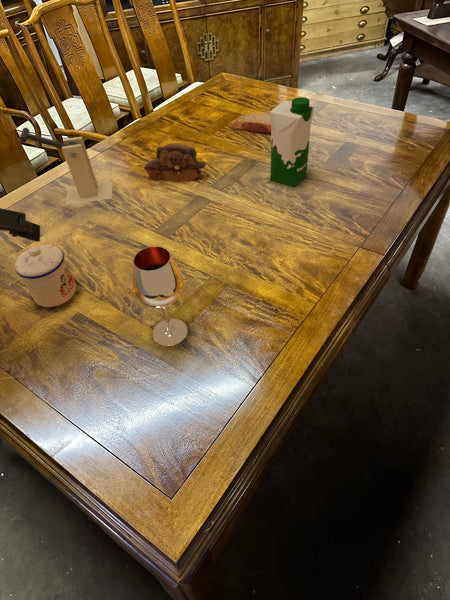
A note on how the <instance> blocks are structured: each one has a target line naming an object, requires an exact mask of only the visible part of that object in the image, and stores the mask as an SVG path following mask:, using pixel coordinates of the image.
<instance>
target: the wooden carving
mask: <svg viewBox="0 0 450 600" xmlns="http://www.w3.org/2000/svg"><path fill="white" fill-rule="evenodd" d="M155 156H156V159H151V160H149V161H148V162H146V163H145V165H144V167H143V170H144V171H146V173H147V174H148V175H149V177H150V180H152V181H159V180H161V179H162V180H163V181H165V182H192V181H194V180H196V179H197V178H199V177H200V176H201V174H202V173H203V172H202V169H204V168H205V167H206V165H208V164H207V162H206V161H203V160H202V161H201V160H200V161H198V159H197V150H196V149H195V147H194V146H188V145H186V144H183V143H178V142H174V143H168V144H165V145H163V146H161V145H159V146H157V148H156V154H155ZM200 169H201V170H200Z"/></svg>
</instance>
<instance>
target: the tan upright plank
mask: <svg viewBox="0 0 450 600" xmlns="http://www.w3.org/2000/svg"><path fill="white" fill-rule="evenodd" d="M69 142H74V143H77V144H78V145H71V146H64V147H62V149H61V150H62V153H63V155H64V158H65V162H66V164H67V166H68V169H69V172H70V175H71V178H72V181H73V182H74V185H70V186H67V188H66V194H65V201H64V206H69V205H75V204H76V205H77V204H82V203H89V202H95V201H96V202H97V201H102V200H109V199H113V179H110V180H104V181H97V179H96V175H95V172H94V170H93V169H94V168H93V167H92V164H91V160H90V156H89V154H88V151H87V147H86V144H85V142H84V139H83V136H76V137H70V138H63V143H64V144H67V145H69Z"/></svg>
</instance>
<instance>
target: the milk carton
mask: <svg viewBox="0 0 450 600" xmlns="http://www.w3.org/2000/svg"><path fill="white" fill-rule="evenodd" d="M310 102H311V101H310V99H309V98H307V97H305V96H304V97H303V96H302V97H301V96H299V97H294V98H293V99H292V100H286V99H284V100H283V101H282V102H280V103H279V104H278V105H277V106H275V107H274V108H273V109H271V110H270V111H269V112H270V118H271V133H270V140H271V141H270V172H269V173H270V176H269V177H270V178H269V180H270V181H272V182H275V183H278V184H282V185H285V186H289V187H292V188H295V187H296V186H297V185H298V184H299V183H300V182H301V181H302V180H303V179H304V178H305V177H306V176H307V174H308V172H307V171H308V163H309V162H308V161H309V150H310V138H311V127H312V122H313V116H314V111H315V105H313V104H310Z"/></svg>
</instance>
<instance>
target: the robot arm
mask: <svg viewBox="0 0 450 600" xmlns="http://www.w3.org/2000/svg"><path fill="white" fill-rule="evenodd" d="M26 219H27V214H26V212H22V211H15V210H10V209H6V208H1V207H0V231H3V232H8V234H10V235H11V236H12V238H17V237H19V238H22V239H26V240H29V241H33V242H37V243H38V242H41V225H40V224H37V223H35V222H31V221H29V220H26Z"/></svg>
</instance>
